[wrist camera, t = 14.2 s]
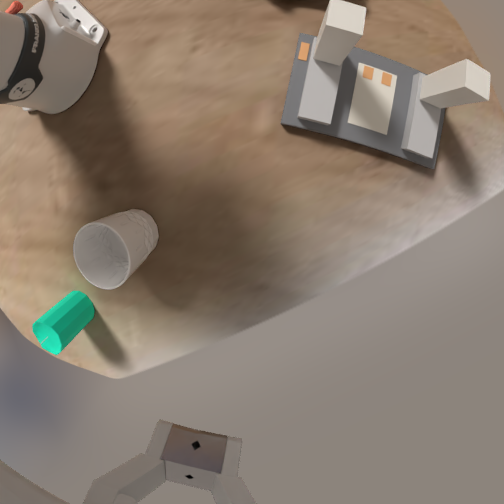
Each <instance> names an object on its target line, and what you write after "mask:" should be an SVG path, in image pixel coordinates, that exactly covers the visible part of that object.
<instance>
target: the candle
mask: <svg viewBox="0 0 504 504" xmlns="http://www.w3.org/2000/svg"><path fill="white" fill-rule="evenodd" d="M94 313H95V310H94V307H93V303H92V302H91V300H90V299H89V298H88V297H87V295H85V294H84V293H82V292H80V291H72V292H71V293H70V294H68V295H67V296H66V297H65V298H63V299H62V300H61V301H60V302H58V303H57V304H56V305H55V306H54V307H52V308H51V309H50V310H49V311H47V312H46V313H45V314H44V315H43V316H41V317H40V318H39V319H38V320H37V321H36V322H35V323H34V324H33V333H34V334H35V336H36V337H37V339H38V341H39V342H40V344H41V346H42V348H43V349H45V350H47V351H49V352H51V353H53V354H55V355H57V354H59V353H60V352H61V351H62V350H63V349H64V348H65V347H66V346H67V345H68V344H69V343H70V342H71V341H72V340H73V338H74V337H75V336H76V335H77V334H78V333H79V332H80V331H81V330H82V329H83V328H84V327H85V326H86V325H87V324H88V323H89V322H90V321H91V320H92V319H93V318H94Z"/></svg>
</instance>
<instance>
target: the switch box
mask: <svg viewBox="0 0 504 504" xmlns="http://www.w3.org/2000/svg"><path fill="white" fill-rule="evenodd" d="M316 41H317V37H316V36H312V35H308V34H303V33H300V35H299V39H298V44H297V49H296V54H295V58H294V63H293V68H292V72H291V77H290V82H289V86H288V91H287V96H286V101H285V105H284V110H283V115H282V119H281V124H283V125H288V126H292V127H296V128H301V129H305V130H309V131H313V132H317V133H321V134H325V135H329V136H332V137H336V138H340V139H343V140H347V141H350V142H354V143H357V144H360V145H363V146H367V147H370V148H373V149H376V150H379V151H382V152H385V153H388V154H391V155H394V156H397V157H400V158H403V159H405V160H408V161H411V162H413V163H416V164H419V165H421V166H424V167H427V168H429V169H434V167H435V163H436V158H437V153H438V148H439V143H440V138H441V132H442V127H443V121H444V114H445V108H441V109H440V108H438V107H436V106H434V105H431V104H429V103H427V102H425V101H422V100H420V93H421V86H422V78H423V77H424V76H427V74H425V73H422V72H420V71H418V70H416V69H413V68H411V67H409V66H406V65H404V64H401V63H399V62H396V61H394V60H391V59H388V58H386V57H383V56H380V55H377V54H375V53H372V52H369V51H366V50H363V49H360V48H356V47H353V49H352V50H351V51H350V53H349V54H348V55H347V57H346V58H345V59H344V61H343V62H342V63H341V65H340V66H338V65H335V64H331V63H327V62H324V61H320V60H316V59H313V56H314V51H315V46H316Z"/></svg>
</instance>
